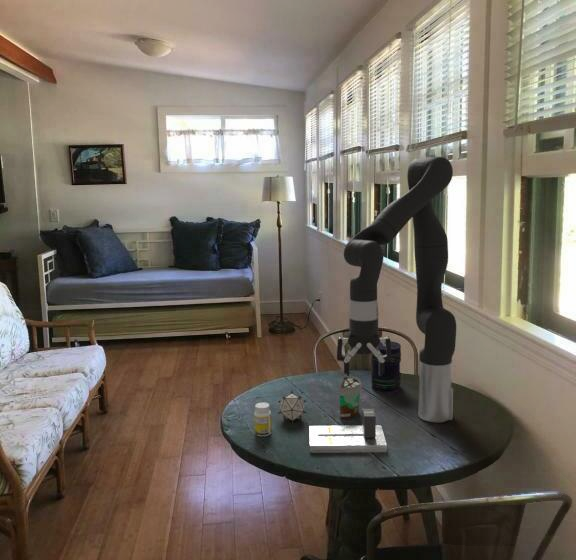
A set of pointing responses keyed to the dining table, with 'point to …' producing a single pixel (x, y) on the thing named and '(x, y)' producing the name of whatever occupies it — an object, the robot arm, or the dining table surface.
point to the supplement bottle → (262, 419)
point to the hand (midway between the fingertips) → (364, 375)
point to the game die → (292, 406)
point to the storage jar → (387, 370)
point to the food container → (350, 397)
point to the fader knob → (369, 423)
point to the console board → (345, 439)
